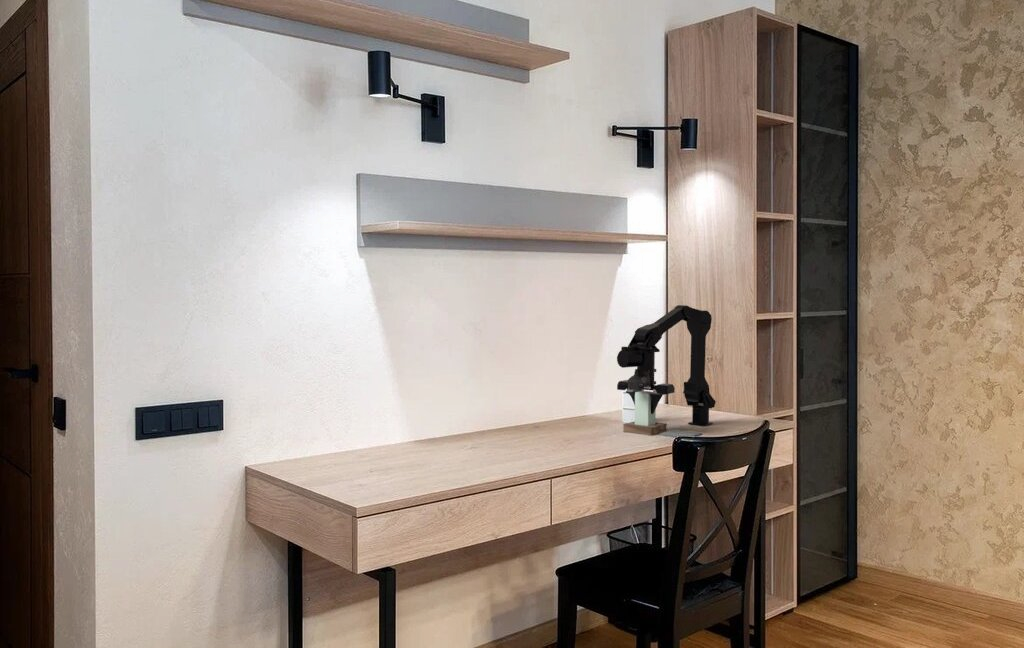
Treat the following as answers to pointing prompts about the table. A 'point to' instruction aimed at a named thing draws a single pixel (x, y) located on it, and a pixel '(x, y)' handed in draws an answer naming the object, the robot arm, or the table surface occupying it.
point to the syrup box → (627, 408)
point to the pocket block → (645, 428)
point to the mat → (679, 433)
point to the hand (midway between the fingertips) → (645, 412)
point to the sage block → (644, 409)
